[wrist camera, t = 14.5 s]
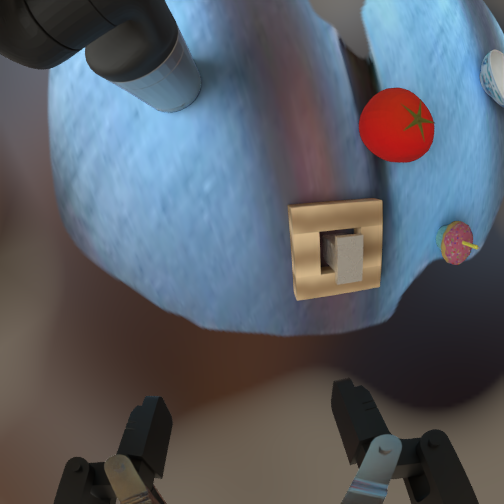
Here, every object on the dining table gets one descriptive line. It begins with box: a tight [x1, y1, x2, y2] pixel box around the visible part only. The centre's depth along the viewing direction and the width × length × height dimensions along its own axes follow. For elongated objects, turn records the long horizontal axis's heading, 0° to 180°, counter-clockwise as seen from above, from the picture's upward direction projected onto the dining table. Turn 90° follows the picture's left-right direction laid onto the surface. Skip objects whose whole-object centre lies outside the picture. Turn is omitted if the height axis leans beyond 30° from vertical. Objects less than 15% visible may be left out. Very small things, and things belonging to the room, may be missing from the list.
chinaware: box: [480, 50, 504, 108], centre depth 30 cm, size 15×15×8 cm
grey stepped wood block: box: [322, 233, 363, 285], centre depth 40 cm, size 7×4×8 cm, turn 6°
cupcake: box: [436, 221, 480, 265], centre depth 39 cm, size 9×8×12 cm
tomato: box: [359, 88, 434, 162], centre depth 32 cm, size 11×11×13 cm
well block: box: [288, 198, 383, 301], centre depth 42 cm, size 15×15×3 cm
